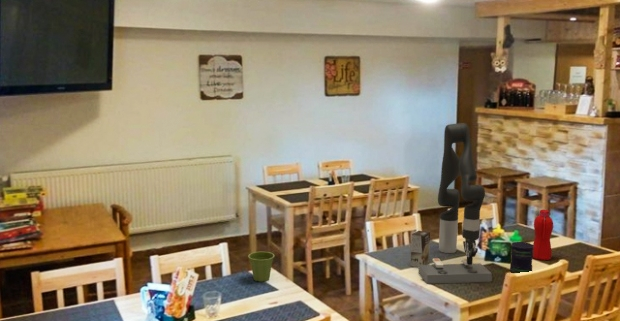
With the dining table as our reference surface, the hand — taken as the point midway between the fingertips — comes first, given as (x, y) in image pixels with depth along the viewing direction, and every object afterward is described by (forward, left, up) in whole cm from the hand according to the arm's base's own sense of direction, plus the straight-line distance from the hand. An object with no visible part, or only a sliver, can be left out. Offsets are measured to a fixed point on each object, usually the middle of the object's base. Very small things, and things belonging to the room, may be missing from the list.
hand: (469, 264), depth 281 cm
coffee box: (-19, -18, -6) cm, 27 cm away
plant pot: (-5, -96, -6) cm, 96 cm away
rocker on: (-3, 0, 0) cm, 3 cm away
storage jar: (0, +25, -6) cm, 26 cm away
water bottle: (-24, +47, -6) cm, 53 cm away
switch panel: (0, -7, -6) cm, 9 cm away
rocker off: (-3, -14, 0) cm, 14 cm away
